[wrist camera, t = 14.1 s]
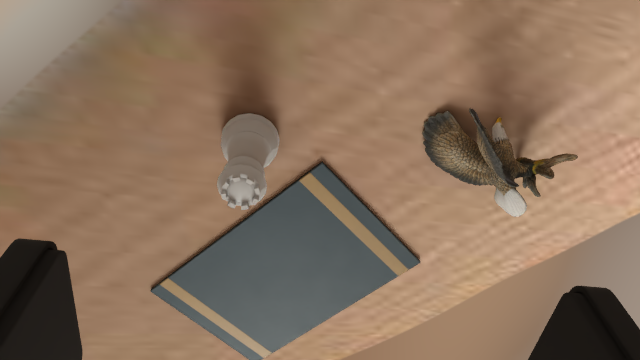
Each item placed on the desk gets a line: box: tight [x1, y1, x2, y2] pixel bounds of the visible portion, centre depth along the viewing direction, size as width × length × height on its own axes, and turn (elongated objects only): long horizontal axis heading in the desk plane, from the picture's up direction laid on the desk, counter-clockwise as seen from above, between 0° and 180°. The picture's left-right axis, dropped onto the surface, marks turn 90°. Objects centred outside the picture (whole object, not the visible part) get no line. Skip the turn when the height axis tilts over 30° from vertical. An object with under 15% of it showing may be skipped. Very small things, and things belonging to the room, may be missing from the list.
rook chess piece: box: [217, 113, 280, 210], centre depth 36 cm, size 4×4×8 cm
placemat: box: [151, 162, 420, 360], centre depth 47 cm, size 21×14×1 cm, turn 130°
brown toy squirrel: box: [423, 108, 578, 217], centre depth 37 cm, size 8×7×9 cm
